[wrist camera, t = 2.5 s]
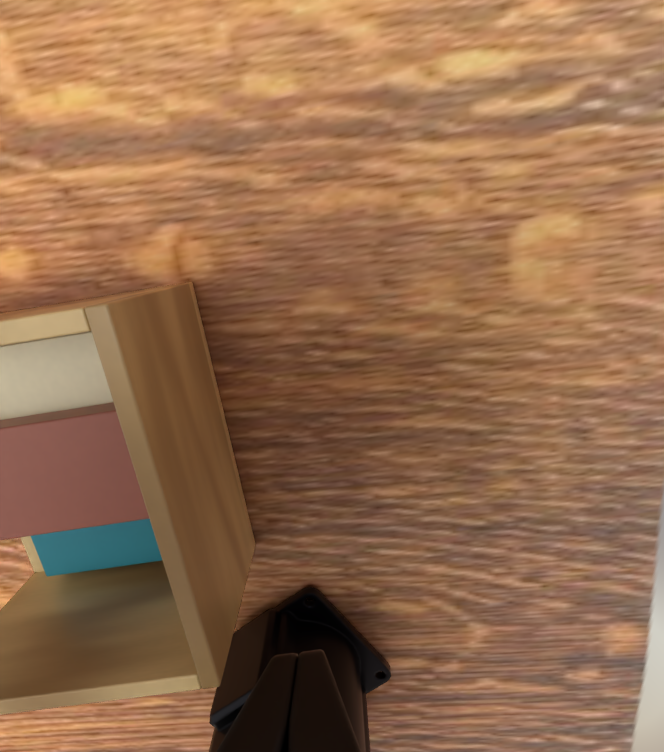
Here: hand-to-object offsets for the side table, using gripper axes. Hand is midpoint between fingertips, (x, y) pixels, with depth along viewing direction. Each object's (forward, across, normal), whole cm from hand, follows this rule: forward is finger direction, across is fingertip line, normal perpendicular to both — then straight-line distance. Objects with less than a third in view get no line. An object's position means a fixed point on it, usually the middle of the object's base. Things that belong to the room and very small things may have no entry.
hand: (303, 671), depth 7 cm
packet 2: (+10, +9, 0) cm, 14 cm away
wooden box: (+12, +9, 0) cm, 15 cm away
